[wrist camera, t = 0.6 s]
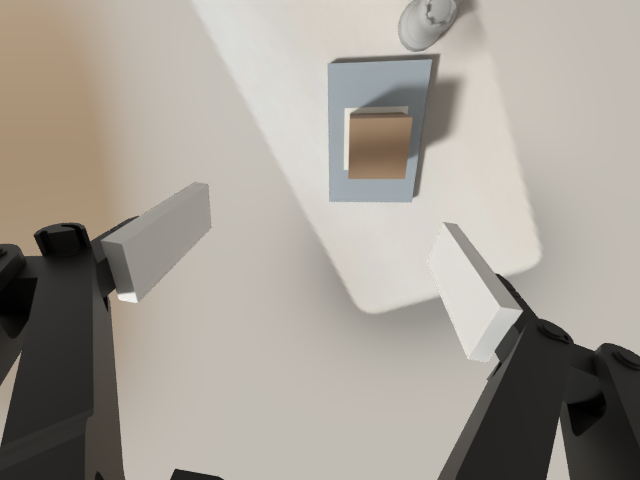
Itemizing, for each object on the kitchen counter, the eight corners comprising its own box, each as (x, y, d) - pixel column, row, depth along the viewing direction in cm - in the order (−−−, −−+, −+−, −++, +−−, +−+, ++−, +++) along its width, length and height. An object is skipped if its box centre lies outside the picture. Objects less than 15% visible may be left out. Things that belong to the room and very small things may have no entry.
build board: (328, 64, 31) (327, 63, 30) (429, 60, 30) (432, 59, 29) (330, 198, 39) (329, 201, 38) (410, 199, 38) (411, 202, 37)
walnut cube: (349, 113, 32) (349, 118, 27) (402, 112, 31) (412, 117, 26) (348, 165, 35) (348, 179, 30) (396, 164, 34) (404, 179, 29)
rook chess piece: (449, 29, 28) (481, 11, 22) (410, 62, 30) (429, 55, 23) (428, -14, 27) (454, -49, 20) (388, 23, 29) (401, 3, 22)
